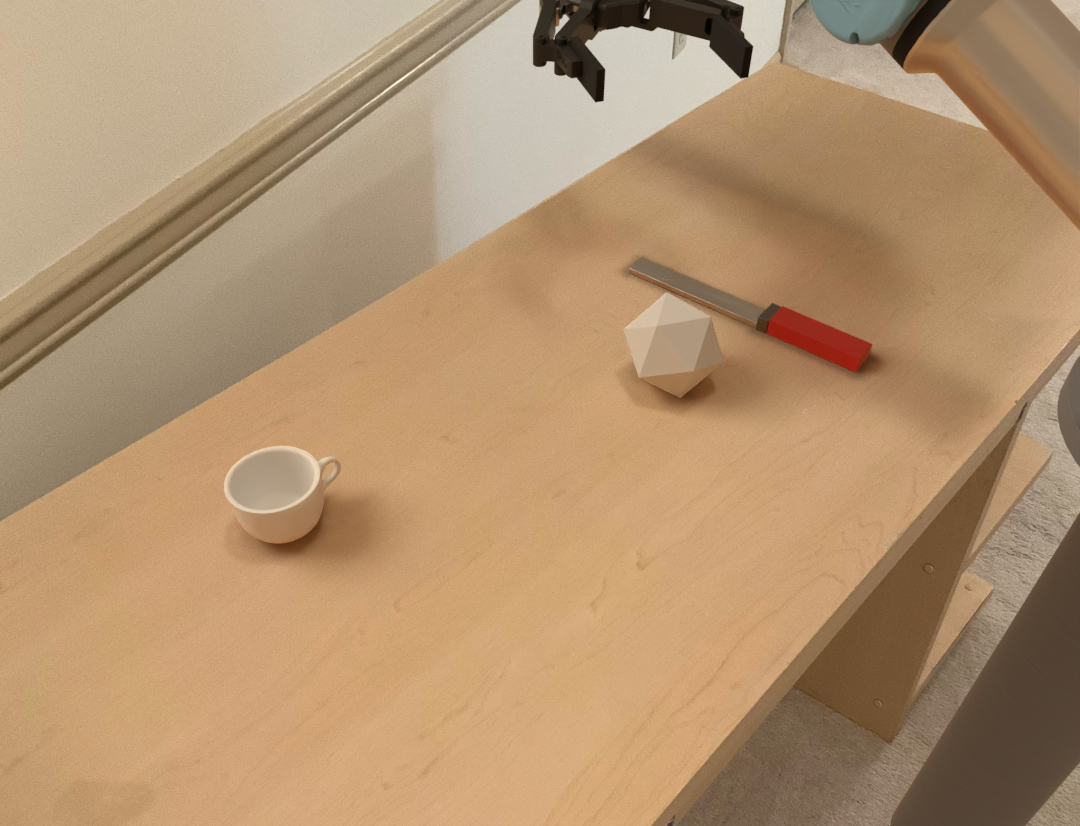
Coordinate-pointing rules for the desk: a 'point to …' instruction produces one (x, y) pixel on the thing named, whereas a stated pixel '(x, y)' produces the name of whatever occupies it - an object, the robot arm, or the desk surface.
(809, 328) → the knife
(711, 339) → the white icosahedron
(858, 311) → the desk surface
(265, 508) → the teacup
